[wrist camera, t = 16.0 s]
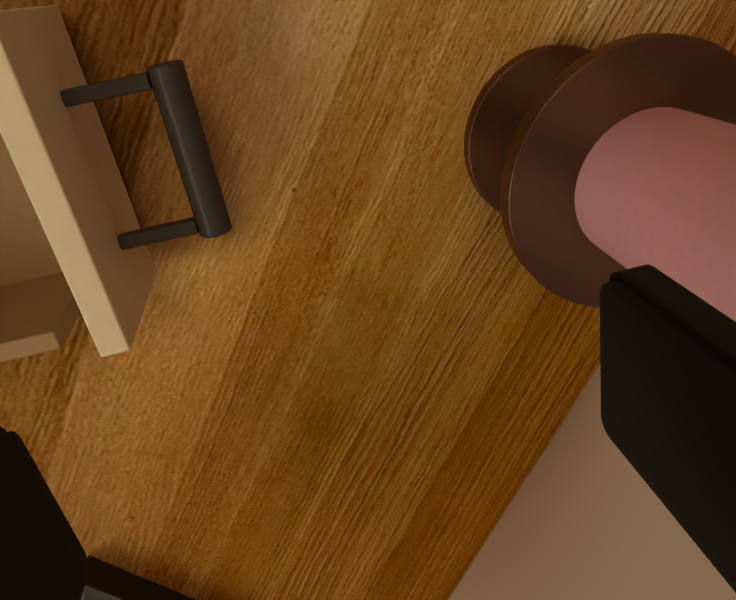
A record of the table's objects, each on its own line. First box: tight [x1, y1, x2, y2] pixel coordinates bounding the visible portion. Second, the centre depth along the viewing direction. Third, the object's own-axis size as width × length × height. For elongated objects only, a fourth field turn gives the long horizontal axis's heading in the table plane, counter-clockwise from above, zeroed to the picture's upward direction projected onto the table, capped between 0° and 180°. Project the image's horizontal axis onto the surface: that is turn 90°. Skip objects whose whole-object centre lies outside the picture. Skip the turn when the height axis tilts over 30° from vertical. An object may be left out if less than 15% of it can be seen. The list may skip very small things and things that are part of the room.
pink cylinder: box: [574, 107, 736, 322], centre depth 20 cm, size 6×6×10 cm
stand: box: [464, 33, 736, 307], centre depth 29 cm, size 11×11×9 cm
